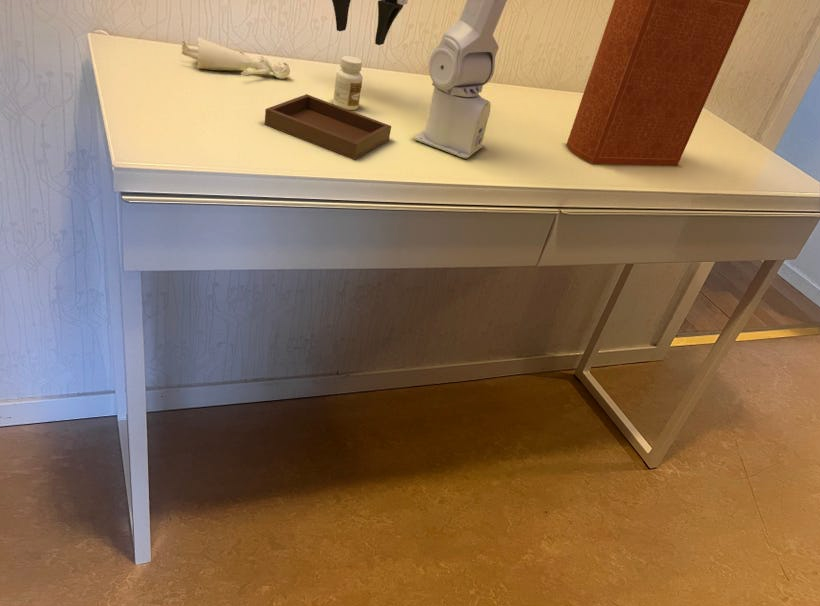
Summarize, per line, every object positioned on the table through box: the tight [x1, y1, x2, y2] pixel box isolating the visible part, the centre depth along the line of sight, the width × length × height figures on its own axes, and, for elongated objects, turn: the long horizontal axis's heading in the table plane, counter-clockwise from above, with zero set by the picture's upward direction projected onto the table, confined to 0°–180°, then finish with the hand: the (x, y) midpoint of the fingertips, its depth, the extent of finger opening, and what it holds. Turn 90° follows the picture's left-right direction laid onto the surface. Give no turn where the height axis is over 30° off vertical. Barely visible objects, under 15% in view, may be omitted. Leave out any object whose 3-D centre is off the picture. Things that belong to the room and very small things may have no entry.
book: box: [565, 0, 751, 167], centre depth 123 cm, size 23×8×30 cm, turn 117°
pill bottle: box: [332, 55, 364, 111], centre depth 117 cm, size 4×4×8 cm
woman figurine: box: [181, 36, 291, 80], centre depth 120 cm, size 12×4×18 cm
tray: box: [264, 93, 392, 160], centre depth 108 cm, size 16×12×2 cm
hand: (360, 37), depth 121 cm, fingers open, 7 cm apart
